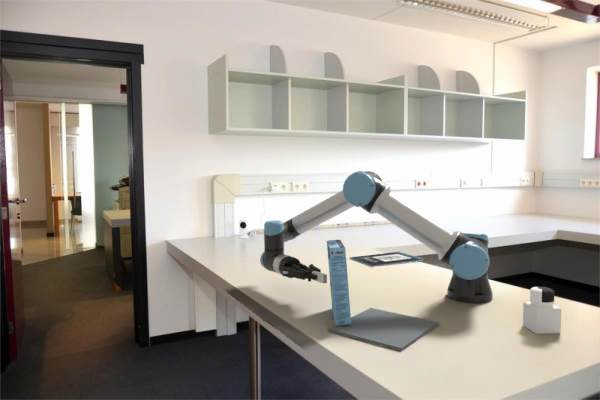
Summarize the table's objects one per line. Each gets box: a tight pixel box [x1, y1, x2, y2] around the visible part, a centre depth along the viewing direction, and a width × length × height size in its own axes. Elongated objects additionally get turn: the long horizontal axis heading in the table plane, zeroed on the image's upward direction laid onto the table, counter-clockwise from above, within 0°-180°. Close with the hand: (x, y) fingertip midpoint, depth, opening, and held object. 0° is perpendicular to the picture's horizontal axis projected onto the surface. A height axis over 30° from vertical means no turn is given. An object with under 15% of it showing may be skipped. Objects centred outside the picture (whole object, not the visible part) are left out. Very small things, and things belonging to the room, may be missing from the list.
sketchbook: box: [349, 250, 424, 268], centre depth 227 cm, size 22×30×2 cm
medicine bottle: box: [522, 286, 562, 335], centre depth 128 cm, size 7×7×12 cm
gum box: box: [326, 239, 352, 326], centre depth 140 cm, size 20×5×23 cm, turn 179°
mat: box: [327, 307, 439, 352], centre depth 131 cm, size 23×24×1 cm
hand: (325, 279), depth 145 cm, fingers closed
